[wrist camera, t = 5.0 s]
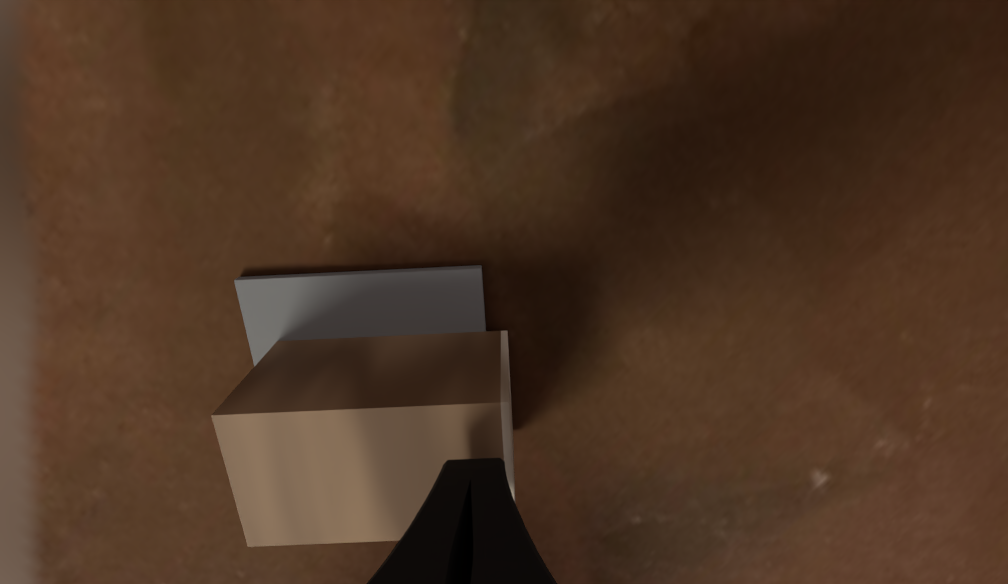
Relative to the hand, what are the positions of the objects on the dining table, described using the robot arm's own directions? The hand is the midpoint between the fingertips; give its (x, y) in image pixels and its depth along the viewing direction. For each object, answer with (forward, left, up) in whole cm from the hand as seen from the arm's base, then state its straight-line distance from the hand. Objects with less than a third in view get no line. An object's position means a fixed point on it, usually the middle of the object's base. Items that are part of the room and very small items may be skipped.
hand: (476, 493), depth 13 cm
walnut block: (-1, +1, -3) cm, 3 cm away
